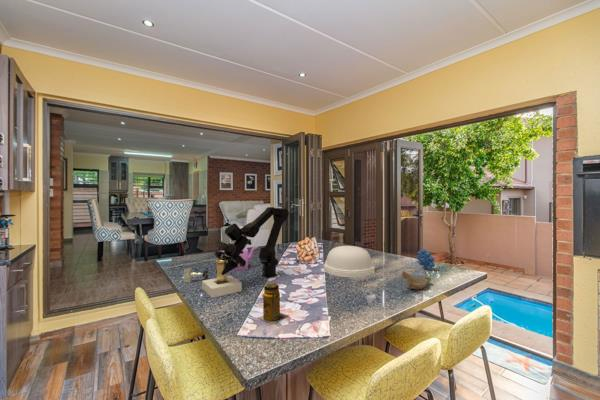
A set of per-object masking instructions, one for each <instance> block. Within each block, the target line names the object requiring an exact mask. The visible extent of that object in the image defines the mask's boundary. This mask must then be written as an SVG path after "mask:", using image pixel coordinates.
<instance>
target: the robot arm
mask: <svg viewBox="0 0 600 400" xmlns="http://www.w3.org/2000/svg"><path fill="white" fill-rule="evenodd" d="M289 214H290V213H289V210H288V208H286V207H285V208H283V207H282V208H279V207H277V208H276V207H274V206H272V207H271V206H268V207H266V208H265V210H264V211H263V212H262V213H261V214H260V215H258V216H257V217H256V218H255V219H253V221H251V222H248V223H247V224H245V225H243V227H242V228H240V227H239V226H238V224H237V223H232V224H231V225H229V226H227V227H226V228H225V229H224V234H225V235H226V236H227V237H228V238H229V239H230V240H231V241H232V242H233V243H228V244H227V243H223V242H220V243H219V246H218V248H217V250H216V251H215V253H214V256H215V257H217V258H216V259H219V258H227V259H228V263H227V262H226V266H225V268H224V270H223V271H222V273H221V274H222V275H224V274H226V273H229V272H232V271H231V270H233V269H235V268H236V267H239V266H238V264H239V265H240V266H241V267H244V266H245V264H246V261H245V260H244V259H243V258H242V257H241V256H239V255H240V254H243V249H244V248H245V246H246V247H247V245H250V246H251V245H252V238H255V237H256V236H257V234H258V233H259V231H260V228H261V227H262V226H263V225H264V224H265V223H266V222H267V221H268V220H269V219H271V217H272V219H273V224H272V226H271V230H270V233H269V236H268V238H267V242H266V245H265V246H264V247H262V246H261V248H260V249H259V250H260V251H259V253H258V258H259V261H260V263H261V265H262V273H261V276H263V277H265V278H271V277H277V276H278V274H277V273H276V270H277V269H276V267H277V265H279V260H278V259H277V257H276V253H277V252H276V248H275V247H276V244H277V241H278V238H279V236H280V232H281V229H282V226H283V224H284V223H285V222H286V221H287V220H288V218H289V216H290V215H289ZM249 238H251V239H249ZM222 251H224V253H223V252H222ZM215 274H217V268H216V270H215Z"/></svg>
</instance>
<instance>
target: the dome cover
mask: <svg viewBox="0 0 600 400" xmlns="http://www.w3.org/2000/svg"><path fill="white" fill-rule="evenodd" d="M375 269H376V268H375V265H374V264H373V262H372V258H371V255H370V253H369V252H368V251H367V250H366V249H365V248H362V247H360V246H354V245H340V246H336V247H333V248H331V249H330V250H329V252H328V254H327V256H326V260H325V262H324V264H323V271H324V272H325V273H326V274H328V275H332V276H336V277H342V278H364V277H365V278H366V277H369V276H372V275H376V270H375Z"/></svg>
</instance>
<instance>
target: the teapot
mask: <svg viewBox="0 0 600 400" xmlns="http://www.w3.org/2000/svg"><path fill="white" fill-rule="evenodd" d="M250 249H251V250H250V251H249V250H248V248H247V245H246V246H245V248H244V249H243V254H240V255H239V256H241V257H242V258H243V259H244V260H245V261H246V264H245V266H244V267H241V266H240V265H239V264H238V266H239V267H236V268H235V269H233V270H231V271H230V272H238V271H248V270H249V262H251V260H252V258H253V256H254V252H255V250H257V249H259V246H254V247H252V248H250ZM221 251H222V250H221ZM222 252H223V253H224V251H222ZM227 263H228V261H227Z"/></svg>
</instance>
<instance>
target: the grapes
mask: <svg viewBox="0 0 600 400" xmlns="http://www.w3.org/2000/svg"><path fill="white" fill-rule="evenodd" d="M416 259H417V260H418V265H420V266H422V269H424V270H429V271H431V270H432V269H433V267H434V268H435V265H436V264H435V262H434V261H435V257H434V256H432V253H431V252H430V251H427V250H426V249H425V248H424V249H423V248H422V250H417V256H416Z"/></svg>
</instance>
